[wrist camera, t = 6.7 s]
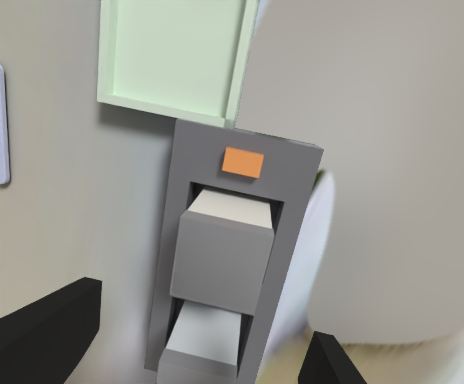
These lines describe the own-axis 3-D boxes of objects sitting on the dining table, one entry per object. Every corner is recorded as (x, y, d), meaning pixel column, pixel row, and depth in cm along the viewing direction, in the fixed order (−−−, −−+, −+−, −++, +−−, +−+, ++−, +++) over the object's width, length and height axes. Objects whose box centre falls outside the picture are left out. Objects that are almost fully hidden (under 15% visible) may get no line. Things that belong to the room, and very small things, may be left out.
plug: (197, 238, 18) (169, 294, 13) (207, 182, 17) (180, 216, 11) (255, 251, 18) (254, 314, 12) (269, 195, 17) (274, 236, 11)
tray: (111, 102, 17) (97, 101, 15) (120, -50, 15) (104, -69, 13) (234, 128, 17) (232, 129, 15) (264, -24, 14) (264, -40, 13)
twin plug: (181, 332, 21) (151, 415, 15) (188, 288, 20) (159, 360, 14) (232, 344, 21) (221, 433, 15) (243, 301, 19) (236, 380, 14)
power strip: (142, 442, 26) (127, 484, 23) (188, 118, 17) (172, 118, 14) (223, 463, 25) (218, 509, 22) (314, 144, 16) (326, 150, 13)
